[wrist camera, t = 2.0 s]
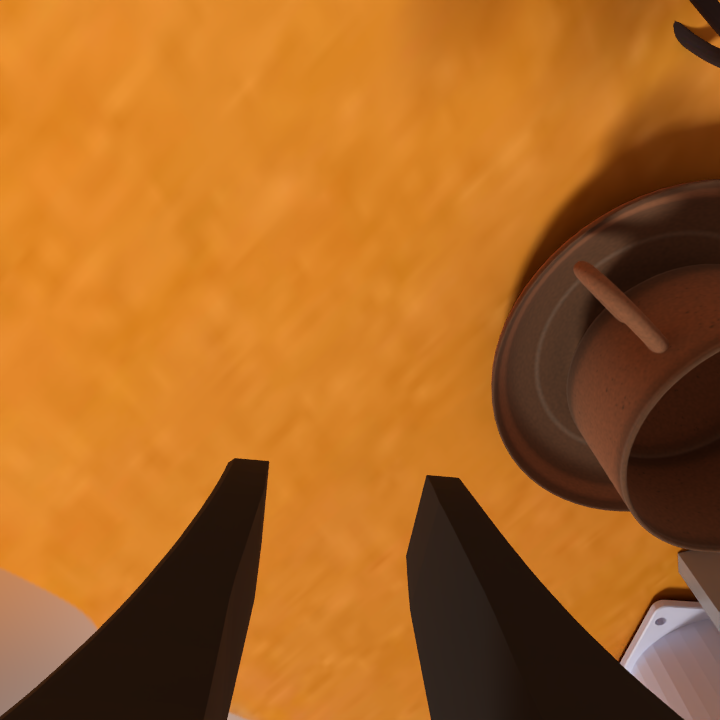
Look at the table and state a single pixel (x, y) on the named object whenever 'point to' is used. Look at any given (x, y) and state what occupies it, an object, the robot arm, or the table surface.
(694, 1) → the eyeglasses
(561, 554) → the table surface
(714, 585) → the bent grey bar frame
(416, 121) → the table surface
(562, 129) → the table surface
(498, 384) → the cup and saucer
